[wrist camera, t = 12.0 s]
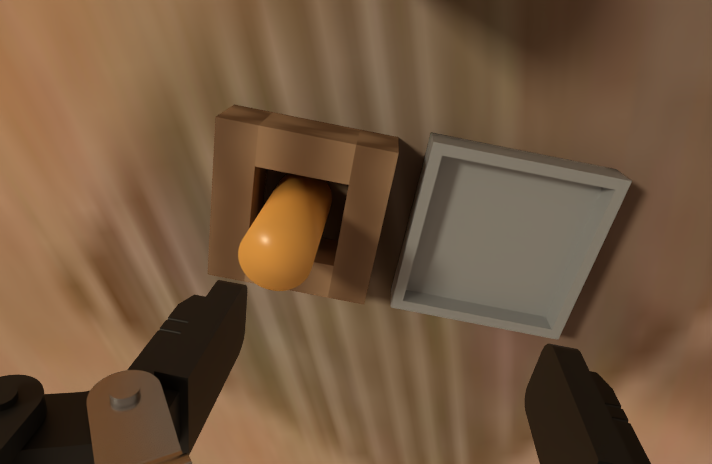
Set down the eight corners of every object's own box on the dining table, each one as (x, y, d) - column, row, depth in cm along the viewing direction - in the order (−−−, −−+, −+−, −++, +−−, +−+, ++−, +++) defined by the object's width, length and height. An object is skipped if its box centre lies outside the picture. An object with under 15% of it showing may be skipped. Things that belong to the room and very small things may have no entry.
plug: (336, 175, 36) (317, 232, 27) (327, 227, 38) (307, 296, 29) (278, 164, 36) (241, 218, 27) (273, 217, 38) (235, 283, 29)
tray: (616, 169, 34) (632, 181, 32) (549, 320, 40) (558, 339, 38) (431, 132, 34) (433, 141, 32) (390, 290, 40) (390, 307, 38)
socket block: (398, 137, 34) (398, 153, 31) (366, 277, 40) (364, 304, 36) (234, 104, 34) (215, 117, 31) (224, 249, 40) (207, 274, 36)
